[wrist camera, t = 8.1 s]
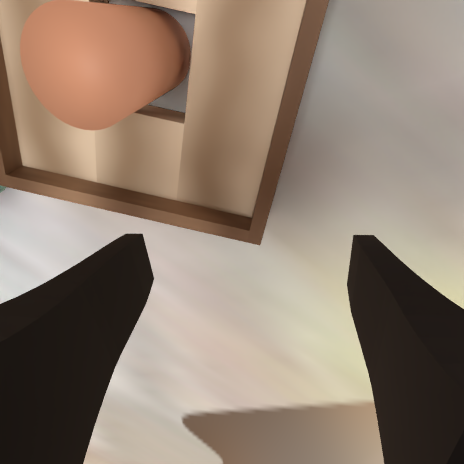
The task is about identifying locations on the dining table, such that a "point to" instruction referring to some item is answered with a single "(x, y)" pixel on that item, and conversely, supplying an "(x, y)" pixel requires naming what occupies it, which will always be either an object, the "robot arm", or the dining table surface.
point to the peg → (101, 59)
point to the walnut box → (174, 123)
